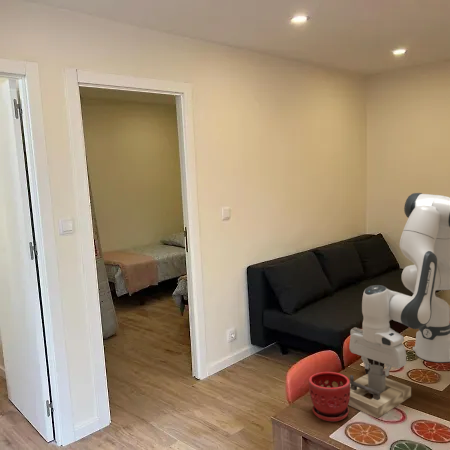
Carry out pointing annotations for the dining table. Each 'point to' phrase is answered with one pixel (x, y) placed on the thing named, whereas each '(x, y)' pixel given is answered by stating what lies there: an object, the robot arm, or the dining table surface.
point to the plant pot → (330, 396)
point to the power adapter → (376, 378)
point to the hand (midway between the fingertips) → (376, 371)
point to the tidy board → (377, 396)
